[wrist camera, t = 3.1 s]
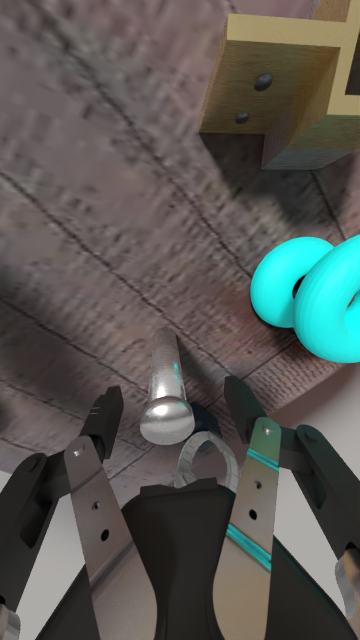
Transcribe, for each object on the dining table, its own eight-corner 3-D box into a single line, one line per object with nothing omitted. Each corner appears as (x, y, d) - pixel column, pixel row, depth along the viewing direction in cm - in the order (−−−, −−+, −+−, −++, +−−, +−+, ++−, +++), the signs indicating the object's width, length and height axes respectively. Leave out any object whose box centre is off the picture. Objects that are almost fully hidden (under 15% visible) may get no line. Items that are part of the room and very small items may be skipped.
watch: (165, 423, 27) (167, 524, 17) (203, 395, 26) (230, 487, 16) (188, 438, 29) (202, 537, 19) (225, 412, 28) (261, 505, 18)
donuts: (377, 199, 9) (498, 252, 11) (267, 226, 18) (342, 252, 20) (287, 359, 12) (391, 378, 14) (233, 313, 21) (300, 328, 23)
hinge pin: (152, 350, 22) (143, 447, 11) (150, 326, 21) (136, 409, 10) (178, 348, 23) (194, 441, 11) (177, 324, 21) (194, 403, 10)
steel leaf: (260, 169, 16) (326, 114, 10) (286, -46, 12) (437, -410, 5) (318, 169, 17) (417, 117, 10) (362, -38, 12) (588, -364, 6)
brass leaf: (198, 169, 16) (223, 110, 9) (199, 77, 14) (232, -84, 7) (318, 169, 17) (417, 117, 10) (336, 83, 14) (478, -53, 8)
